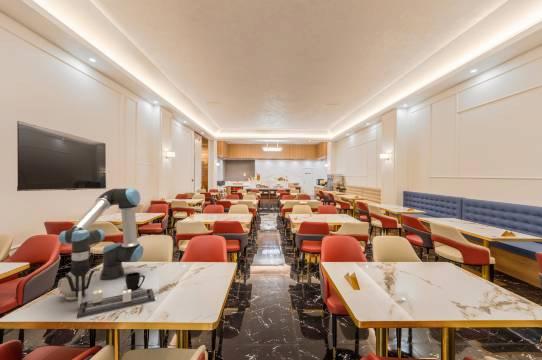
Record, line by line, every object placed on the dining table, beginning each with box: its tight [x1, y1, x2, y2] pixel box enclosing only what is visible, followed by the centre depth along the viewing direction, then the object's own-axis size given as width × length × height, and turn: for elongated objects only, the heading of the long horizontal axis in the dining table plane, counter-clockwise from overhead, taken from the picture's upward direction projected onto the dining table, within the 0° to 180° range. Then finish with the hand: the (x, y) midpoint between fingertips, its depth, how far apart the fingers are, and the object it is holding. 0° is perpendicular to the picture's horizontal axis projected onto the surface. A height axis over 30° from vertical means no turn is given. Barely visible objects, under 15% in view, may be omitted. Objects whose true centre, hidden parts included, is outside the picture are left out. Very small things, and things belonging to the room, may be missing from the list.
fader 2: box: [122, 289, 132, 303], centre depth 140 cm, size 4×4×5 cm
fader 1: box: [92, 289, 103, 303], centre depth 140 cm, size 4×4×5 cm
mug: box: [124, 271, 146, 292], centre depth 161 cm, size 8×12×10 cm
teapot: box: [57, 273, 89, 301], centre depth 150 cm, size 18×14×16 cm
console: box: [76, 288, 156, 319], centre depth 142 cm, size 14×36×3 cm, turn 121°
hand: (80, 302), depth 136 cm, fingers closed
